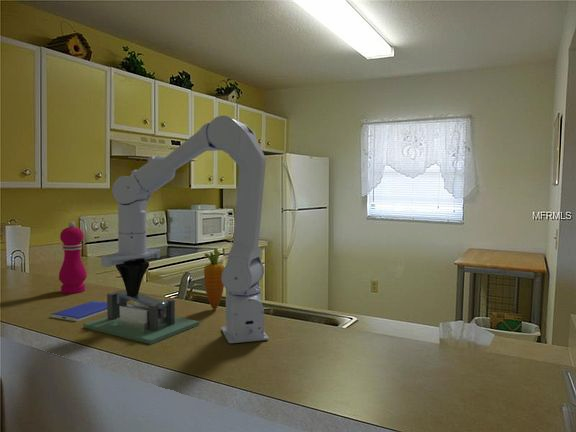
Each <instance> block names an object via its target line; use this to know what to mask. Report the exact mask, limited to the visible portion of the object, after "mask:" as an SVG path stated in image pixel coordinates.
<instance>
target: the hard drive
mask: <svg viewBox="0 0 576 432" xmlns="http://www.w3.org/2000/svg"><path fill="white" fill-rule="evenodd" d="M104 313H107V301H106V302H105V301H98V300H91V301H89V302H85V303H83V304H82V303H81V304H78V305H75V306H72V307H69V308H66V309H63V310H59V311H56V312H53V313H51V314H50V317H51V318H53V319H60V320H67V321H72V322H79V321H83V320H85V319H89V318H92V317H94V316H98V315H100V314H104Z"/></svg>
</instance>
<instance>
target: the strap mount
mask: <svg viewBox="0 0 576 432" xmlns="http://www.w3.org/2000/svg"><path fill="white" fill-rule="evenodd" d="M121 291H123V289H122V290H118V291H117V290H116V291H114V292H111V293H107V294H106V302H107V312H106V313H107V316H106V317H107V319H110V320H114V319H117V318H118V317H120V306H121V305H123V306H127V304H128V302H124V303H121V304H118V303H117V292H121ZM165 301H168V302H169V304H170V305H169V306H168V307H166V318H167V324H168V325H173V324H175V317H176V313H175V310H176V309H175V308H176V307H175V306H176V305H175V304H176V303H175V301H176V300H175V299H172V298H171V299H170V298H169V299H166V300H165ZM149 324H150V331H157V330H158V305H154V304H152V305H149Z"/></svg>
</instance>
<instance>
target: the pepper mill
mask: <svg viewBox="0 0 576 432" xmlns="http://www.w3.org/2000/svg"><path fill="white" fill-rule="evenodd" d="M67 226H68V227H65V228H64V229H62V230H61V231H60V233H59V234H60V235H59V239H60V241H61V242H62V250H63V253H64V255H63V256H64V257H63V258H64V259H63V262H62V264H61V267H60V269H59V272H58V280H59V281H60V283H61V284H62V285H61V286H60V292H61V294H68V295H69V294H72V295H73V294H79V293H82V292H85V291H86V283H84V282H85V280H86V279H87V277H88V276H87V271H86V267H85V265H84V264H83V261H82V257H81V250H82V249H83V248H82V247H83V245H82V242H83V240H84V233H83V231H82V229H80V228H78V227H76V223H75V222H74V221H69V222H68V224H67Z"/></svg>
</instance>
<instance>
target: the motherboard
mask: <svg viewBox="0 0 576 432" xmlns="http://www.w3.org/2000/svg"><path fill="white" fill-rule="evenodd" d="M199 325H200V321H199V320H194V319H190V318H185V317H180V316H175V324H173V325H168V324H164V325H161V326H158V330H157V331H150V330H147V331H145V332H144V331H140V330H136V329H131V328H127V327H123V326H118V325H117V319H114V320H110V319H107V316H105V317H102V318H99V319H94V320H92V321H88V322H85V323H83V325H82V327H83V328H85V329H87V330H92V331H96V332H100V333H104V334H109V335H111V336H112V335H113V336H116V337H120V338H125V339H128V340H133V341H136V342H139V343H143V344H144V343H145V344H148V345H153V344H155V343H158V342H161V341H162V340H165V339H168V338H170V337H172V336H175V335H178V334H180V333H183V332H186V331H188V330H191V329H192V327H193V328H195V327H197V326H199ZM187 329H188V330H187ZM182 331H183V332H182Z"/></svg>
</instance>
